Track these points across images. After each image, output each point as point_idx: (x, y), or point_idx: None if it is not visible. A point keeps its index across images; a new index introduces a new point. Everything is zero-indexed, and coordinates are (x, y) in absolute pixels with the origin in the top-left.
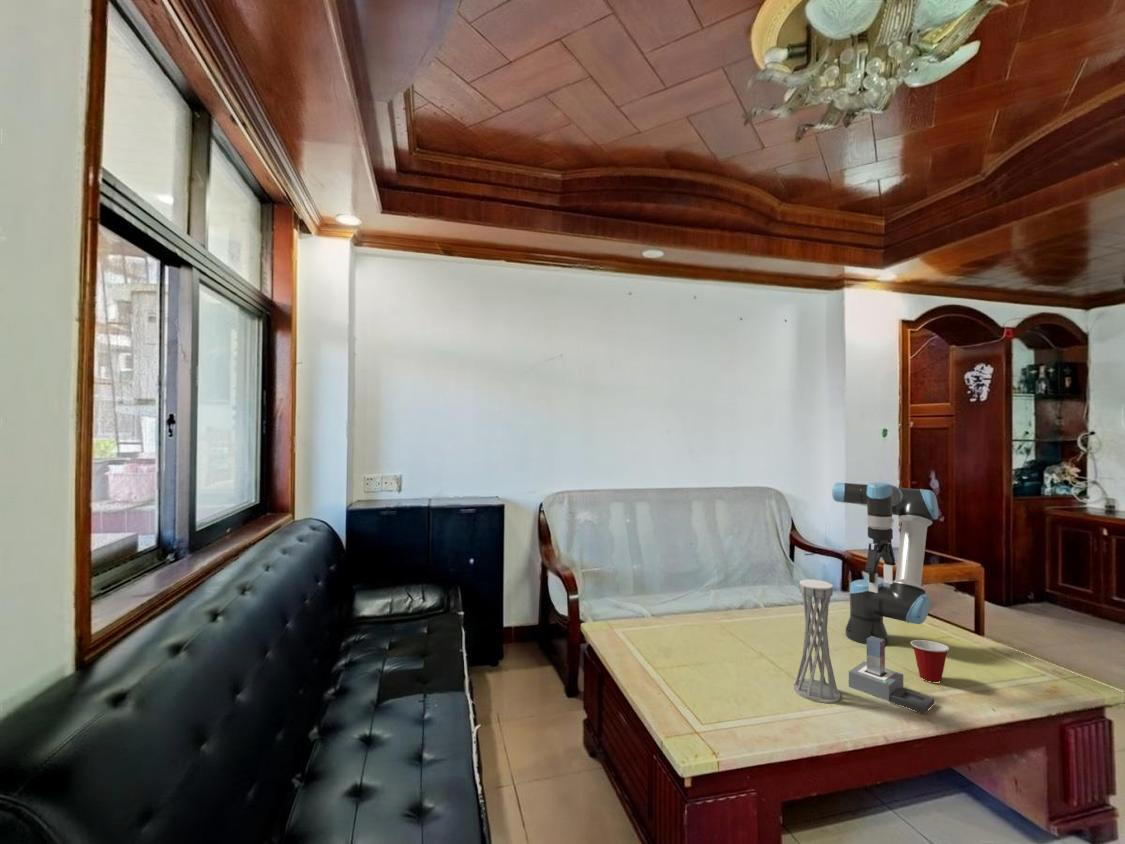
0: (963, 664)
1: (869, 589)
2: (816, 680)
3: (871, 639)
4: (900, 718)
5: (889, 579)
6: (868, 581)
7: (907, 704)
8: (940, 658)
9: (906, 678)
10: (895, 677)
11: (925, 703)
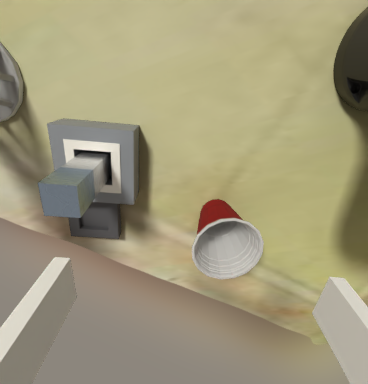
0: (322, 234)
1: (49, 270)
2: (6, 58)
3: (45, 194)
4: (33, 211)
5: (332, 330)
6: (6, 321)
7: None
8: (205, 258)
9: (190, 184)
10: (104, 199)
11: (89, 234)
